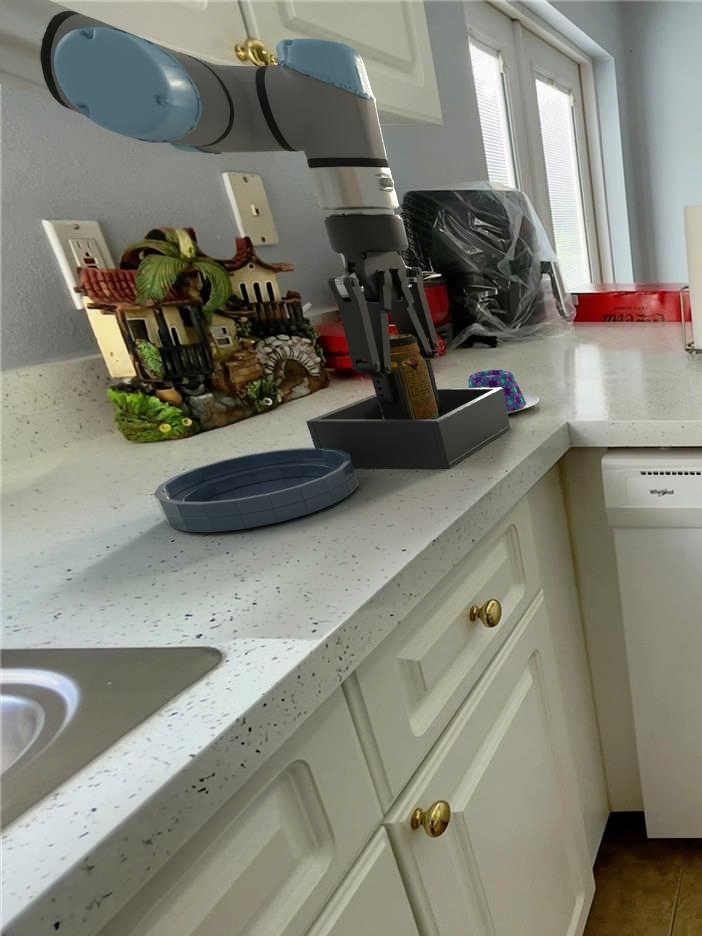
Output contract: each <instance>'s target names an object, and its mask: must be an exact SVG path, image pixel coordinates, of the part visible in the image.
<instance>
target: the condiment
mask: <svg viewBox="0 0 702 936" xmlns="http://www.w3.org/2000/svg"><path fill="white" fill-rule="evenodd" d="M389 339H390V353H391V367H392V371H391V372H398V375H399V378H400V382H401V386H402V390H403V394H404V397H405V401H406V405H407V409H408V413H409V416H410V419H437V418H439V414H438V409H437V405H436V401H435V397H434V393H433V389H432V385H431V381H430V377H429V372H428V368H427V364H426V361H425V359H424V358H423V357H422V356H421V355H420V353H419V352H420V349H419V347H418V345H417V338H416V337H415V336H414V335H412V334H399V333H391V334H389ZM379 362H380V360H379ZM379 404H380V402H379ZM380 409H381V406H380ZM381 412H382V410H381ZM382 414H383V413H382ZM383 419H384V417H383Z"/></svg>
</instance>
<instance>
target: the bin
mask: <svg viewBox="0 0 702 936" xmlns="http://www.w3.org/2000/svg"><path fill="white" fill-rule="evenodd" d="M437 391H438V395H439V399H440V403H441V407H442V412H440V413H438V414H439V418H437V419H383V414H382V412H381V409H380V404H379V401H378V399H377V397H376V393H374V394H372V395H369V396H366V397H363V398H362V399H360V400H357V401H354V402H352V403H349V404H346V405H344V406H341V407H339V408H336V409H334V410H331V411H328V412H326V413H324V414H321V415H318V416H317V417H313V418H310V419H308V420H306V421H305V422H306V426H307V428H308V429H307V430H308V431H309V435H310V438H311V440H312V444H313V448H329V449H336V450H342V451H344V452H346V453H348V454H350V455H351V459H352V462H353V465H354V468H355V469H405V470H406V469H413V470H415V469H417V470H418V469H421V470H422V469H423V470H426V469H427V470H428V469H429V470H432V469H433V470H441V469H442V470H450V469H452V468H453V467H455V466H457V465H459V464H460V463H461V462H462V461H464V460H465V459H467V458H469V457H470V456H472V455H473V454H475V453H476V452H478V451H479V450H481V449H483V448H485V446H488V445H489V444H491V443H492V442H493V441H494V440H496V439H498V438H499V437H501V436H502V435H505V433H507V432H509V431H510V430H511V429H512V427H511V423H510V418H509V414H508V413H507V408H506V403H505V398H504V393H503V388H468V387H437Z"/></svg>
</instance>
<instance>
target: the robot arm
mask: <svg viewBox="0 0 702 936" xmlns="http://www.w3.org/2000/svg"><path fill="white" fill-rule="evenodd" d="M275 52H276V56H277V58H276V64H270V65H262V66H261V65H259V66H257V65H255V66H254V65H226V64H225V65H224V64H216V63H212V62H210V61H207V60H203V59H201V58H198V57H195V56H193V55H189V54H186V53H184V52H180V51H177V50H175V49H171V48H169V47H166V46H164V45H161V44H159V43H156V42H153V41H151V40H148V39H147V38H144V37H141V36H139V35H137V34H134V33H131V32H130V31H129V32H128V31H127V30H124V29H120V28H119V27H116V26H114V25H111V24H109V23H106V22H104V21H101V20H100V19H96V18H94V17H91V16H88V15H85V14H84V13H83V14H82V13H80V12H78V11H76V10H74V9H72V8H69V7H66V6H64V5H61V4H60V3H57V2H55V1H52V0H0V84H1V85H3V86H6V87H9V88H11V89H14V90H17V91H20V92H22V93H25V94H29V95H31V96H34V97H36V98H39V99H42V100H45V101H47V102H50V103H53V104H55V105H58V106H61V107H63V108H65V109H68V110H70V111H74V112H76V113H78V114H81V115H83V116H84V117H86V118H87V119H88V120H90V121H91V122H93V123H94V124H96V125H98V126H99V127H101V128H103V129H105V130H107V131H110V132H112V133H115V134H119V135H122V136H125V137H128V138H131V139H134V140H137V141H141V142H146V143H154V144H158V143H159V144H161V143H167V144H169V145H170V146H171V147H173V148H175V149H176V150H179V151H182V152H186V153H202V154H214V155H223V154H225V153H263V152H264V153H266V152H267V153H268V152H296V153H297V152H303V153H304V155H305V157H306V162H307V166H308V168H309V169H308V170H309V174H310V177H311V181H312V185H313V188H314V189H313V190H314V192H315V196H316V200H317V203H318V207H319V209H321V210H322V211H326V212H327V215H328V216H325V217H324V218H325V219H323V222H324V227H325V230H326V233H327V237H328V241H329V245H330V248H331V250H332V251H333V252H335V253H336V254H341V255H342V256H343V258H344V273H343V274H342V275H340V276H333V277H332V276H331V277H329V278H328V282H327V283H328V286H329V288H330V290H331V292H332V294H333V296H334V298H335V301H336V303H337V304H336V305H337V308H338V312H339V315H340V316H339V317H340V320H341V324H342V328H343V333H344V337H345V341H346V346H347V349H348V354H349V358H350V362H351V366H352V369H353V370H354V371H355V372H358V373H360V374H361V375H369V376H370V378H371V382H372V385H373V389H374V392H375V393H374V394H376V397H377V399H378V401H379V402H380V406H381V410H382V413H383V417H384V419H410V416H409V413H408V409H407V405H406V401H405V397H404V394H403V390H402V386H401V382H400V378H399V375H398V372H391V371H392V367H391V353H390V339H389V335H390V329H389V328H390V327H389V316H390V318H391V320H392V322H393V324H394V326H395V328H396V331H397V334H412V335H414V336H415V337H416V338H417V345H418V347H419V349H420V352H419V353H420V355H421V356H422V357H423V358H424V359H425V361H426V364H427V368H428V372H429V377H430V381H431V385H432V389H433V393H434V397H435V401H436V405H437V409H438V413H440V412H442V407H441V403H440V399H439V395H438V391H437V388H438V387H437V382H436V377H435V373H434V369H433V365H432V360H431V359H438V358H439V349H440V343H439V339H438V336H437V331H436V329H435V328H436V327H435V325H434V321H433V317H432V314H431V313H432V312H431V310H430V306H429V304H428V299H427V295H426V292H425V289H424V276H423V271H422V269H421V267H419V266H406V264H405V261H404V259H403V257H402V255H401V253H400V252H401V251H405V250H408V248H409V242H408V237H407V233H406V229H405V225H404V221H403V217H401V216H400V215H399V214H395V211H394V209H398V208H399V205H400V204H399V202H398V198H397V194H396V190H395V180H394V179H393V178H392V174H391V170H390V164H389V161H388V156H387V152H386V147H385V143H384V139H383V134H382V129H381V125H380V120H379V115H378V110H377V106H376V102H377V101H376V97H375V96H374V95H373V92H372V89H371V85H370V81H369V78H368V75H367V72H366V67H365V65H364V61H363V59H362V56H361V54H360V53H359V52H358V51H357V50H355V48H353V47H351V46H349V45H347V44H345V43H343V42H338V41H335V40H333V41H332V40H326V39H318V38H317V39H316V38H294V39H282V40H280V41H278V42H277V43H276V46H275ZM379 360H380V362H379Z"/></svg>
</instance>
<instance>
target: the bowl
mask: <svg viewBox="0 0 702 936" xmlns="http://www.w3.org/2000/svg"><path fill="white" fill-rule="evenodd" d="M358 487H359V480H358V476H357V472H356V468H354V465H353V462H352V459H351V455H350V454H348V453H346V452H344V451H342V450H336V449H329V448H315V447H295V448H284V449H275V450H268V451H261V452H256V453H249V454H244V455H240V456H235V457H229V458H225V459H222V460H218V461H215V462H214V461H213V462H212V463H208V464H205V465H201V466H198V467H195V468H191V469H190V470H187V471H185V472H182V473H179V474H176V475H174V476H173V477H170V478H169V479H168V480H166V481H164V482H163V483H161V484H159V485H158V486H157V488H156V489H155V491H154V492H153V497H154V499H155V501H156V504H157V505H158V508H159V510H160V512H161V515H162V517H163V519H164V521H165V522H166V524H168V526H169V527H170V528H171V529H174V530H175V529H176V530H180V531H184V532H188V533H189V532H190V533H217V532H226V531H238V530H246V529H251V528H258V527H263V526H268V525H272V524H277V523H282V522H286V521H289V520H293V519H296V518H300V517H303V516H306V515H309V514H312V513H314V512H317V511H320V510H322V509H325V508H327V507H330V506H333V505H334V504H336V503H339V502H340V501H342V500H343V499H345V498H347V497H349V496H350V495H351V494H352V493H353V492H354V491H355V490H356V489H357V488H358Z"/></svg>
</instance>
